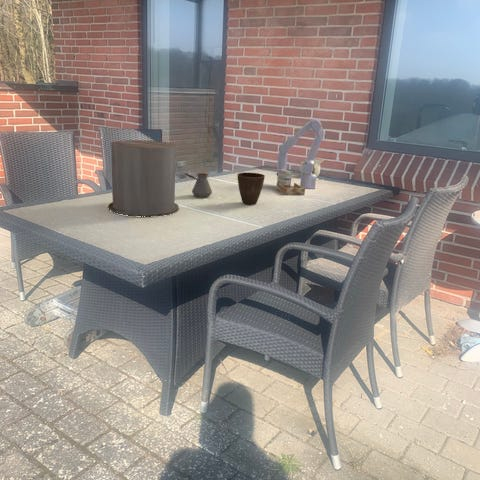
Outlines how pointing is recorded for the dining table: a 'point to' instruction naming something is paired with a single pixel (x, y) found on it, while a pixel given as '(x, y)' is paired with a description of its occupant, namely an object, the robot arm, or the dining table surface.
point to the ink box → (284, 178)
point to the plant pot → (250, 187)
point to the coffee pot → (201, 186)
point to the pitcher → (314, 167)
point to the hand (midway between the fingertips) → (280, 183)
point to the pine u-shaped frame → (291, 190)
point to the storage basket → (143, 178)
